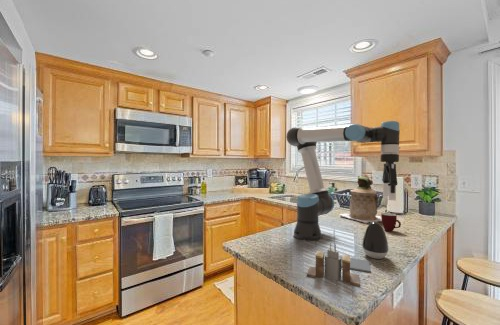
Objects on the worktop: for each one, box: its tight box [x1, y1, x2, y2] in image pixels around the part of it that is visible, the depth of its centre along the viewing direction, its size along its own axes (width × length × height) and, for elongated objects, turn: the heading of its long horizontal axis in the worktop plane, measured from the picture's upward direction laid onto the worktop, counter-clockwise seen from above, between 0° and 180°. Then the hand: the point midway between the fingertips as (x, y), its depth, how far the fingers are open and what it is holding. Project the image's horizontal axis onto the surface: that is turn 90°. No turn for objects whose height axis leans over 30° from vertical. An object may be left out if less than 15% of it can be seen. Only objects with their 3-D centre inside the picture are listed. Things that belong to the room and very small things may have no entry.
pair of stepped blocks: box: [306, 250, 361, 287], centre depth 85 cm, size 18×7×8 cm, turn 67°
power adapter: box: [324, 242, 342, 281], centre depth 85 cm, size 3×5×12 cm, turn 40°
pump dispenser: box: [361, 221, 389, 260], centre depth 104 cm, size 10×10×15 cm
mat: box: [339, 255, 372, 273], centre depth 95 cm, size 12×10×1 cm
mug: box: [380, 212, 402, 232], centre depth 143 cm, size 11×8×10 cm
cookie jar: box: [339, 175, 382, 225], centre depth 175 cm, size 25×25×32 cm
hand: (388, 198), depth 113 cm, fingers open, 13 cm apart
